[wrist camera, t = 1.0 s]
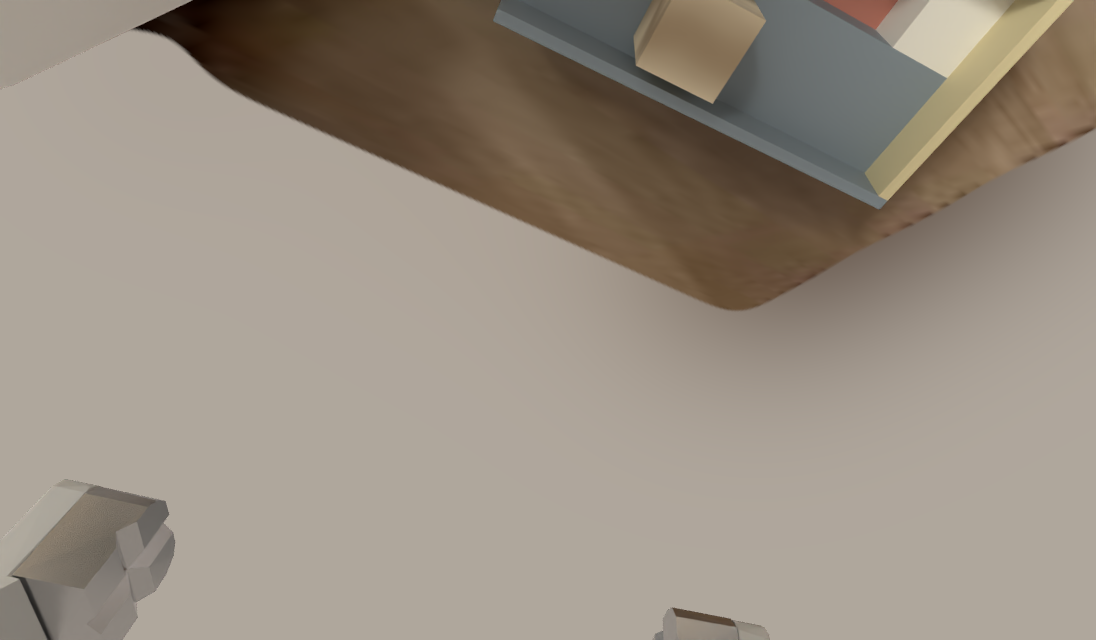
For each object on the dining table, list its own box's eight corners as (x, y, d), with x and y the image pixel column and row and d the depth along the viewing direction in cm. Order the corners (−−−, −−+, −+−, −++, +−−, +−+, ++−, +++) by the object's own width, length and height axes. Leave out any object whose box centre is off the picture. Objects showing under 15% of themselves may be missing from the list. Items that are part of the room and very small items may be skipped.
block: (676, -47, 30) (684, -24, 27) (750, -6, 31) (766, 21, 28) (633, 36, 32) (635, 65, 29) (703, 71, 33) (712, 103, 30)
